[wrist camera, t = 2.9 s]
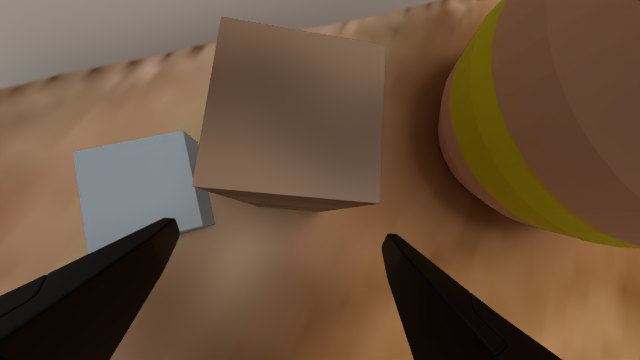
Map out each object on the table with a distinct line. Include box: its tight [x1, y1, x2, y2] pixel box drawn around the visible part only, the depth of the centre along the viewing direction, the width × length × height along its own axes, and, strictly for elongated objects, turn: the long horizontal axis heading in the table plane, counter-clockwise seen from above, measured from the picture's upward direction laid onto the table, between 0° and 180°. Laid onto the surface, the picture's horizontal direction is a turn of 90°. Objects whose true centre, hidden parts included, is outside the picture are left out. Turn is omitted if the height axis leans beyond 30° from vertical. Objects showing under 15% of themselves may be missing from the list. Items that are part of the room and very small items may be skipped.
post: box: [192, 17, 386, 212], centre depth 15 cm, size 6×6×15 cm
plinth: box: [73, 130, 215, 254], centre depth 19 cm, size 8×8×3 cm
